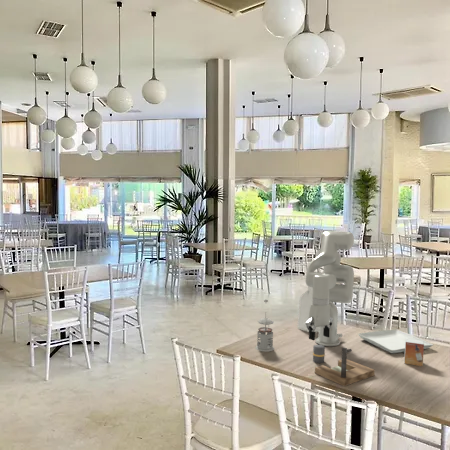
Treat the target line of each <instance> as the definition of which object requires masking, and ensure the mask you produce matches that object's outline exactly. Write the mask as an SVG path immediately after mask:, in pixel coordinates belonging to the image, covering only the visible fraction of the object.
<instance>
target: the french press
mask: <svg viewBox="0 0 450 450" xmlns="http://www.w3.org/2000/svg"><path fill="white" fill-rule="evenodd" d="M263 301H264V303H269V299H264V300H263ZM257 324H260V325H264V326H262V327H259V328H258V331H257V337H256V338H257V339H256V340H257V341H256V342H257V344H256V346H255V350H257V351H259V352H272V351H274V350H275V347H274V341H273V339H274V332H273V329H272V328H271V327H269V326H270V325H273V324H274V320H272V319H271V318H269V317H268V318H267V313H265V317H263V318H262V317H261V318H260V319H258V320H257ZM267 326H268V327H267Z"/></svg>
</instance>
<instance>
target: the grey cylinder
mask: <svg viewBox="0 0 450 450" xmlns="http://www.w3.org/2000/svg"><path fill="white" fill-rule="evenodd" d="M325 351H326V347H325V346H323V345H320V344H314V345H313V352H312V362H313V363H316V364H324V363H325V356H326V354H325V353H326V352H325Z"/></svg>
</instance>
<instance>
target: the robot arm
mask: <svg viewBox="0 0 450 450" xmlns="http://www.w3.org/2000/svg"><path fill="white" fill-rule="evenodd" d="M354 242H355V238H354V234H353V232H351V231H350V232H349V231H336V230H333V231H332V230H331V231H330V230H329V231H323V232H321V235H320V243H321V244H320V249H319V255H318V256H316V257H315V258H313V259H312V260H311V261H310V263H309V264H308V266H307V270H306V274H305V284H306V286H307V287H308V286H309V287H313V296H312V304H311V307H310V312H309V320H308V321H307V322H306V326H307V328H308V330H309V332H308V339H309V340H311V341H315V343H317V344H316V345H322V346H324V347H325V346H326V347H336V346H339V345H340V344H341V342H340V340H339V338H342V337H343V333H341V332H340V333H338V322H339V321H338V318H339V317H338V316H339V310H338V307H337V306H336V304H335V303H337V304H338V303H339V304H350V303H351V302H352V301H353V296H354V283H355V282H354V281H355V280H354V279H355V271H354V268H353V267H352V266H351V265H348V264H341V259H342V257H341V254H340V253H339V251H338V250H346V251H349V250H351V248H352V247H353V245H354V244H355V243H354ZM322 267H323V272H319V271H316V270H318V269H320V268H322ZM312 326H313V329H312ZM316 327H319V332H318V337H316V333H315V332H314V330H315V329H316Z"/></svg>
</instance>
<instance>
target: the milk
mask: <svg viewBox="0 0 450 450" xmlns="http://www.w3.org/2000/svg"><path fill="white" fill-rule="evenodd" d="M307 287H308V288H307V290H306V291H305V292H304V293H303V294H302V295H300V297H299V305H298V315H297V316H298V317H297V325H296V326H297V327H296V328H298V330H301V331H304V332H308V333H309V330H308V328H307V326H306V322H307V321H308V320H309V312H310V307H311V304H312V296H313V287H309V286H307ZM312 329H313V326H312ZM314 332H316V333H319V327H316V329H315V330H314Z"/></svg>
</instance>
